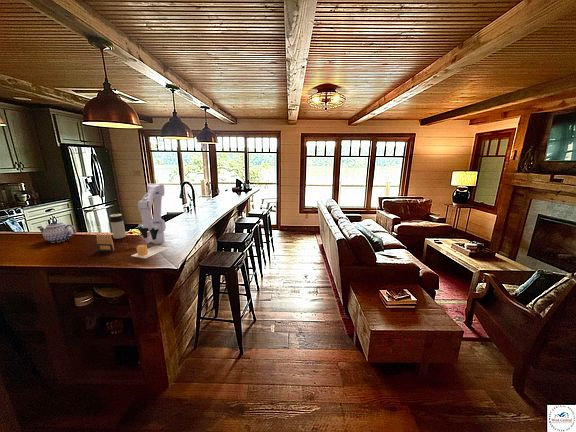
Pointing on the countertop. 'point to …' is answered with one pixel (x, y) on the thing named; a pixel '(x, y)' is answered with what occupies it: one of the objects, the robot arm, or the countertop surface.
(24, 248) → the countertop surface
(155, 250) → the mounting plate
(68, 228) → the teapot
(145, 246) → the cupcake
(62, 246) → the countertop surface
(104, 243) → the tan upright slab
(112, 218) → the travel mug
